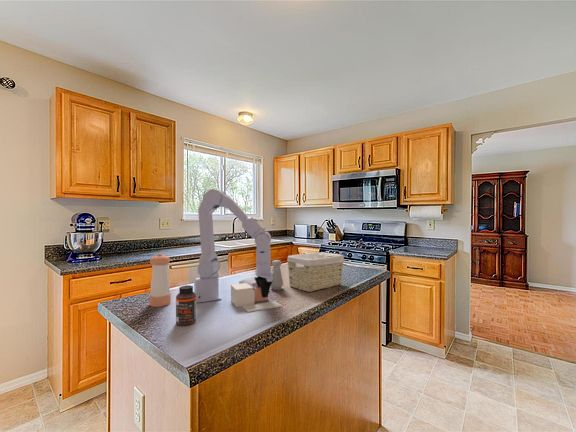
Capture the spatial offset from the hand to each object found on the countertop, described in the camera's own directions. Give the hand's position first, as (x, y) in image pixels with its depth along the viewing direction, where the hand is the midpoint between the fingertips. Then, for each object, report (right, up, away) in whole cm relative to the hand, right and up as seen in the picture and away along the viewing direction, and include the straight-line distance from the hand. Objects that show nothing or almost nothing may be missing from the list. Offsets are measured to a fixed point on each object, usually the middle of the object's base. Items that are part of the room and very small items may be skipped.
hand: (263, 295), depth 109 cm
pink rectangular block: (-4, -1, -2) cm, 4 cm away
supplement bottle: (-22, -2, -23) cm, 32 cm away
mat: (0, -2, -9) cm, 9 cm away
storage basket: (+23, -2, +21) cm, 31 cm away
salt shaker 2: (+4, -2, +15) cm, 16 cm away
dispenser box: (-8, -2, -4) cm, 9 cm away
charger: (-8, -2, +16) cm, 18 cm away
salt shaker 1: (-39, -2, -5) cm, 39 cm away
